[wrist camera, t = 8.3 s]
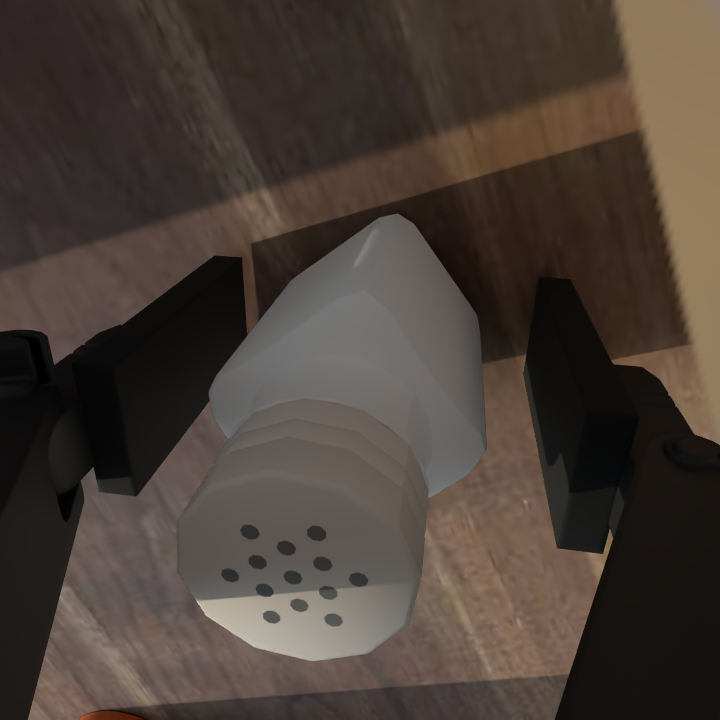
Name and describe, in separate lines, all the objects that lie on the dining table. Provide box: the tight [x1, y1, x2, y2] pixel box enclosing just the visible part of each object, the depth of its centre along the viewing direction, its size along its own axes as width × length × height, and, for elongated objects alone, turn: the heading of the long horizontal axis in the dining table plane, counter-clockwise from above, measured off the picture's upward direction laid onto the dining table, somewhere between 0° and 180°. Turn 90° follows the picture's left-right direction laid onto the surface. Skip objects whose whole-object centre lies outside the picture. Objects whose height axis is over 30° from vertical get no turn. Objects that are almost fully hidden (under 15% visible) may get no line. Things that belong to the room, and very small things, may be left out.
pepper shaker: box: [177, 214, 487, 661], centre depth 12 cm, size 4×4×10 cm
